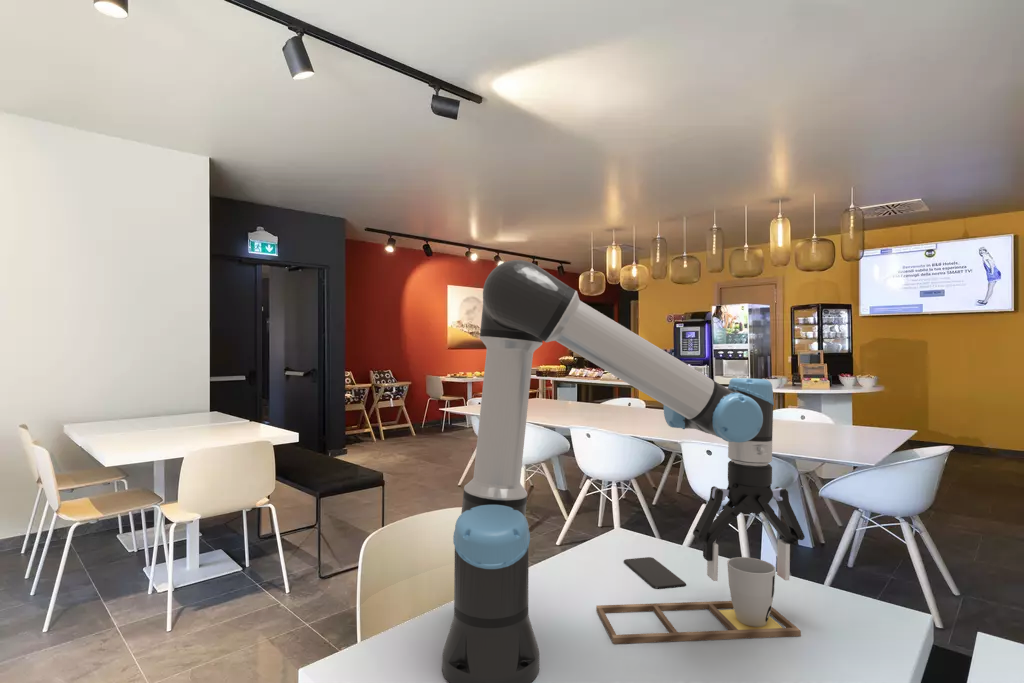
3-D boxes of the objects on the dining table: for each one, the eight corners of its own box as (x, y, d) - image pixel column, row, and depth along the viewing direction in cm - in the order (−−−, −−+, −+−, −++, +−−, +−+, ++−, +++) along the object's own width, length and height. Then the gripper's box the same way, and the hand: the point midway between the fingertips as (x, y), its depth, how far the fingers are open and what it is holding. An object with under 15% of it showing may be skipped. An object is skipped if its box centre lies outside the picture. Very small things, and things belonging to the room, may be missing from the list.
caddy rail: (613, 643, 92) (613, 637, 92) (596, 610, 104) (596, 605, 104) (800, 636, 95) (800, 630, 95) (763, 604, 107) (763, 599, 107)
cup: (781, 633, 96) (780, 575, 96) (732, 628, 97) (731, 571, 98) (769, 612, 104) (769, 558, 104) (724, 608, 105) (723, 555, 106)
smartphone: (688, 588, 116) (652, 560, 131) (688, 584, 116) (652, 556, 131) (654, 591, 114) (621, 562, 129) (654, 587, 114) (621, 558, 129)
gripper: (693, 465, 97) (690, 587, 96) (826, 466, 99) (825, 585, 98) (676, 457, 104) (674, 570, 103) (801, 458, 106) (799, 569, 106)
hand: (747, 578), depth 101 cm, fingers open, 13 cm apart
